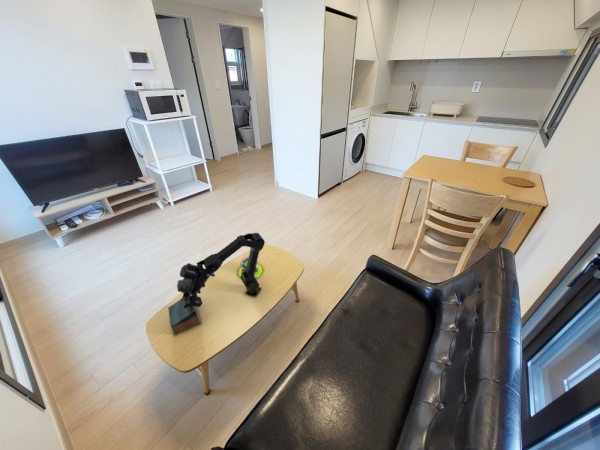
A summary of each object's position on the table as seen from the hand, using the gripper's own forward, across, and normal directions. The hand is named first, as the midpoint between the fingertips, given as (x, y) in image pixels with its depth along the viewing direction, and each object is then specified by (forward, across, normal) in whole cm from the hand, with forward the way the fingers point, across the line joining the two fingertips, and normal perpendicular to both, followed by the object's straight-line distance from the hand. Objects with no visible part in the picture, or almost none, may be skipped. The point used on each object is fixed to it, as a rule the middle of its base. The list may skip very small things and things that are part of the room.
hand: (183, 303), depth 118 cm
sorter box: (+10, 0, +7) cm, 12 cm away
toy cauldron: (-19, -17, +37) cm, 45 cm away
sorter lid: (+4, 0, +1) cm, 4 cm away
